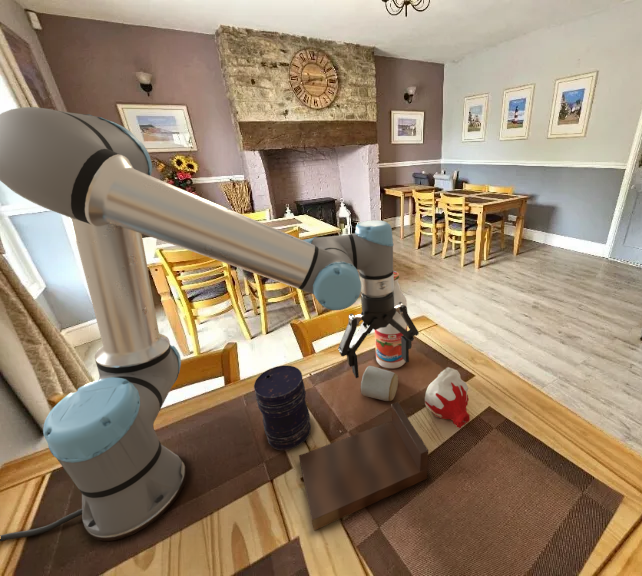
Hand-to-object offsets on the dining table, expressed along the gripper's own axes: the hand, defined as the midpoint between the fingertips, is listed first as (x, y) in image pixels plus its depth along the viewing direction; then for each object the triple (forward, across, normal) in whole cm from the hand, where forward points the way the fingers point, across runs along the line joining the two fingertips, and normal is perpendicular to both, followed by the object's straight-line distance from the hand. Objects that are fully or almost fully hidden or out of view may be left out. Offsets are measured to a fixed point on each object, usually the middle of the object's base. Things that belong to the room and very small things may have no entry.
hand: (381, 366), depth 79 cm
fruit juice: (+8, +8, +11) cm, 16 cm away
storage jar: (+8, -24, -3) cm, 26 cm away
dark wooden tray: (+8, -12, -19) cm, 24 cm away
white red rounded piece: (+8, +12, -13) cm, 19 cm away
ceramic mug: (+8, 0, 0) cm, 8 cm away
